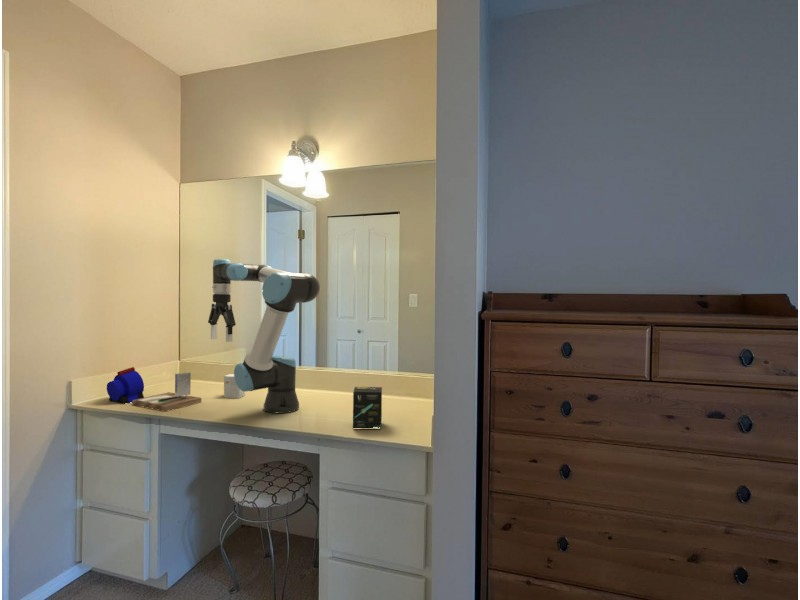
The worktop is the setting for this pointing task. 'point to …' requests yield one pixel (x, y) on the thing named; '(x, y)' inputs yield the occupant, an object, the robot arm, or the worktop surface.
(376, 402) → the tampon box
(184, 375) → the upright grey block
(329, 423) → the worktop surface
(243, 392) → the small box
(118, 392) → the blue toy motor
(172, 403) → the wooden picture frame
